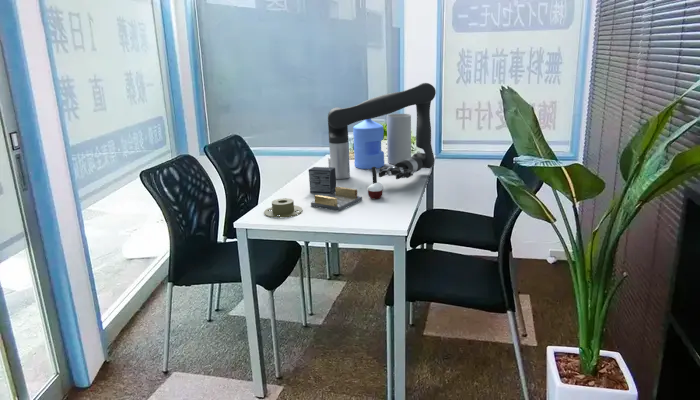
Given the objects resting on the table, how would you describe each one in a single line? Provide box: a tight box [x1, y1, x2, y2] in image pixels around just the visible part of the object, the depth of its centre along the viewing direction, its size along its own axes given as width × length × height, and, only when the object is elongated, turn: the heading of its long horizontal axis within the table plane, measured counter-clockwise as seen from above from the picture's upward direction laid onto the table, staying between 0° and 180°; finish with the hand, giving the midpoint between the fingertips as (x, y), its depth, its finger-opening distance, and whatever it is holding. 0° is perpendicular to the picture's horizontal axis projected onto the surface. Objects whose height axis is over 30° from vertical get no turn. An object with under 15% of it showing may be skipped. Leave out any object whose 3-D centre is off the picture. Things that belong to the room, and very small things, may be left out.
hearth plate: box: [310, 186, 363, 211], centre depth 217 cm, size 14×16×4 cm
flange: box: [263, 198, 304, 218], centre depth 209 cm, size 5×15×15 cm
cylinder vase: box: [386, 113, 412, 166], centre depth 282 cm, size 12×12×25 cm
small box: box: [308, 166, 337, 195], centre depth 235 cm, size 11×6×10 cm, turn 71°
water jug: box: [352, 118, 385, 170], centre depth 276 cm, size 16×16×28 cm
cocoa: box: [367, 167, 384, 200], centre depth 222 cm, size 10×6×12 cm, turn 160°
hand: (388, 175), depth 229 cm, fingers open, 8 cm apart
